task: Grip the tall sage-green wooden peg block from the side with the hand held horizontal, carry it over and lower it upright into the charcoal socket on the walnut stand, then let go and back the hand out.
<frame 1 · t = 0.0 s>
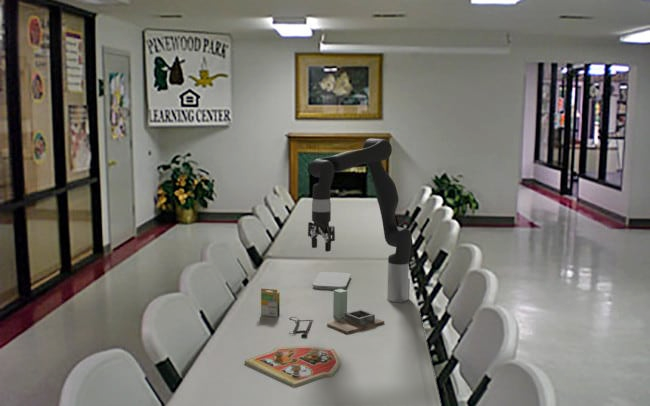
hand: (321, 249, 267), 29 cm above the table, tool pointing down, fingers open, 8 cm apart
tablet: (332, 283, 328), on the table
peg block: (340, 316, 276), on the table
crayon box: (270, 315, 277), on the table
tool stand: (355, 324, 266), on the table
knob puzzle: (302, 365, 226), on the table
hacksaw: (297, 328, 262), on the table
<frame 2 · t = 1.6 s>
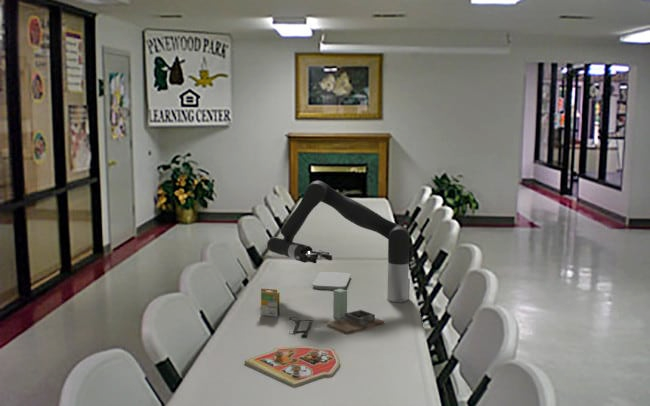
hand: (323, 259, 281), 22 cm above the table, tool horizontal, fingers open, 8 cm apart
nothing on the table moved.
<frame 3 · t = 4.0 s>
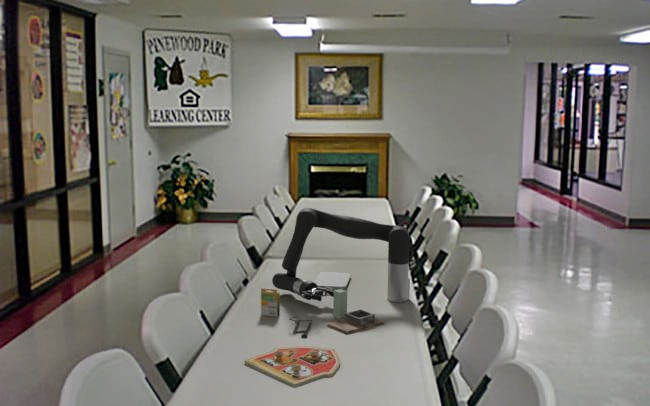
hand: (328, 297, 281), 6 cm above the table, tool horizontal, fingers open, 8 cm apart
nothing on the table moved.
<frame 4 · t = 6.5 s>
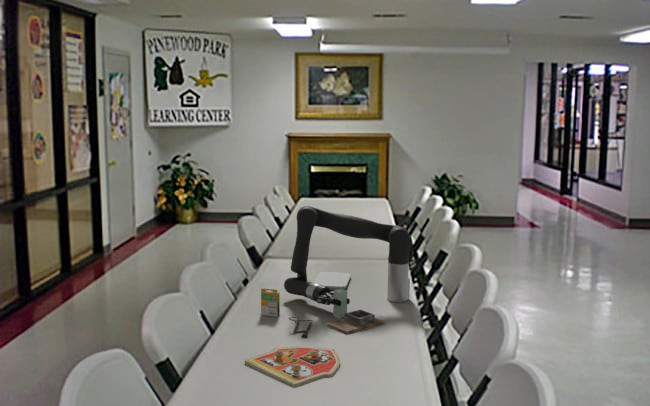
hand: (344, 302, 273), 7 cm above the table, tool horizontal, fingers closed on peg block, 4 cm apart
peg block: (340, 316, 276), on the table, touching gripper
everything else where it was.
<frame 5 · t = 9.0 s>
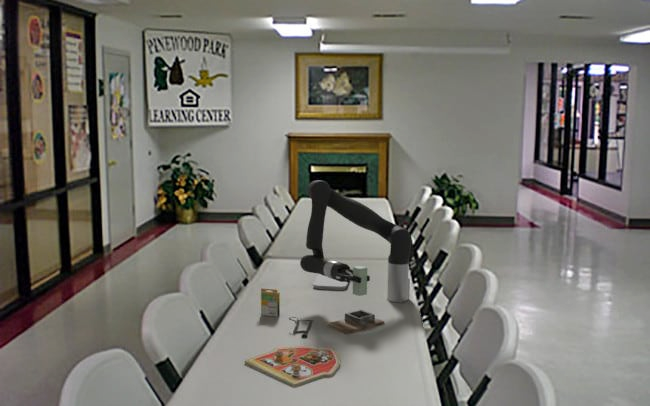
hand: (364, 279, 262), 19 cm above the table, tool horizontal, fingers closed on peg block, 4 cm apart
peg block: (359, 294, 265), point 12 cm above the table, touching gripper
everything else where it was.
when the fingers open (9 cm above the table, at t = 11.6 s): peg block drops 2 cm, resting on tool stand.
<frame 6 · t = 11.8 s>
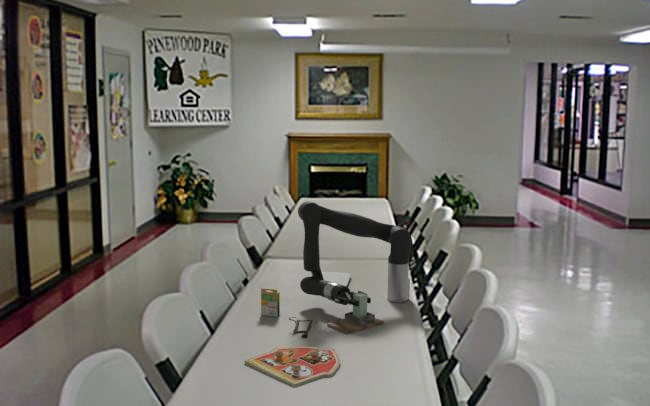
hand: (364, 302, 264), 10 cm above the table, tool horizontal, fingers open, 6 cm apart
peg block: (359, 321, 267), point 1 cm above the table, touching tool stand
everything else where it was.
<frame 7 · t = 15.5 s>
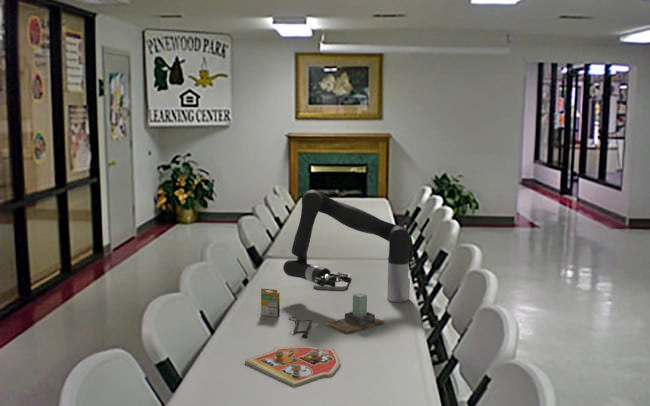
hand: (342, 282, 273), 15 cm above the table, tool horizontal, fingers open, 8 cm apart
nothing on the table moved.
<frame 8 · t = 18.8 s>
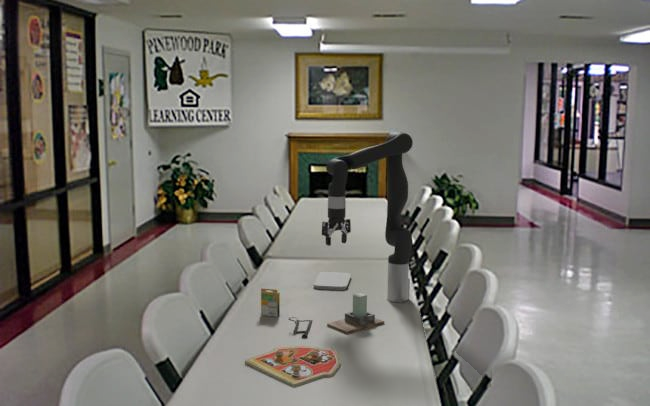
hand: (336, 244, 283), 28 cm above the table, tool pointing down, fingers open, 8 cm apart
nothing on the table moved.
at the end: peg block 0.1 cm from the target spot on the tool stand, point 1.0 cm above the tool stand's base; peg block tilted 0°; the gripper is holding nothing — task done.
